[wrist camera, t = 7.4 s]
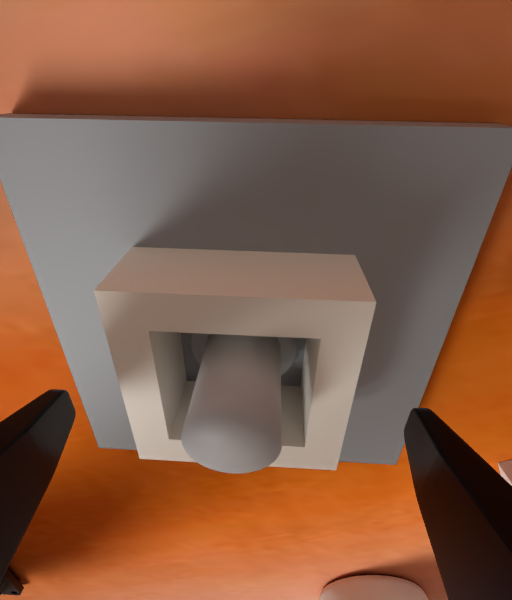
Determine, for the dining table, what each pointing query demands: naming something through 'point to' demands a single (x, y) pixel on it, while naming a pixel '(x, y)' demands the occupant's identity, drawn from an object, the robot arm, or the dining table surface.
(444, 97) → the dining table surface
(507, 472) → the grater
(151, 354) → the white square frame
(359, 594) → the milk bottle
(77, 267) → the post stand
